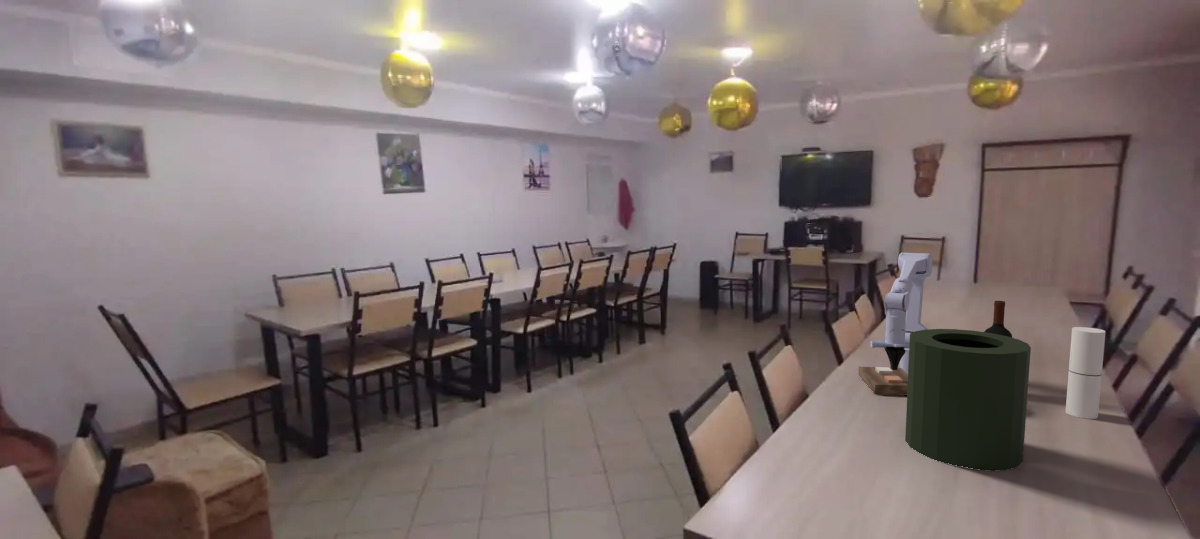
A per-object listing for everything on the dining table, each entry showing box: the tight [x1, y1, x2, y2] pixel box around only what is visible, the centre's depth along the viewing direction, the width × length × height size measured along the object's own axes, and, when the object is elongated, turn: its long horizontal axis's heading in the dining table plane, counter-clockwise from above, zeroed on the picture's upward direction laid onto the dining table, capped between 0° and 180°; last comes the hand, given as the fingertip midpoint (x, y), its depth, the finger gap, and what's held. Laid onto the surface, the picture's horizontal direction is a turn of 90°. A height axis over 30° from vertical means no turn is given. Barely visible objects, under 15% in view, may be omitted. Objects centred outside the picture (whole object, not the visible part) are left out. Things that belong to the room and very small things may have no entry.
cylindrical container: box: [1065, 326, 1106, 420], centre depth 159 cm, size 7×7×25 cm
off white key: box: [874, 366, 893, 374], centre depth 193 cm, size 4×4×3 cm
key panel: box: [857, 366, 908, 396], centre depth 188 cm, size 14×20×3 cm
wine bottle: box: [983, 300, 1013, 338], centre depth 178 cm, size 8×8×30 cm
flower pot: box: [904, 328, 1032, 472], centre depth 139 cm, size 25×25×28 cm
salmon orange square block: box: [884, 376, 903, 383], centre depth 183 cm, size 4×4×3 cm
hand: (893, 369), depth 183 cm, fingers closed
